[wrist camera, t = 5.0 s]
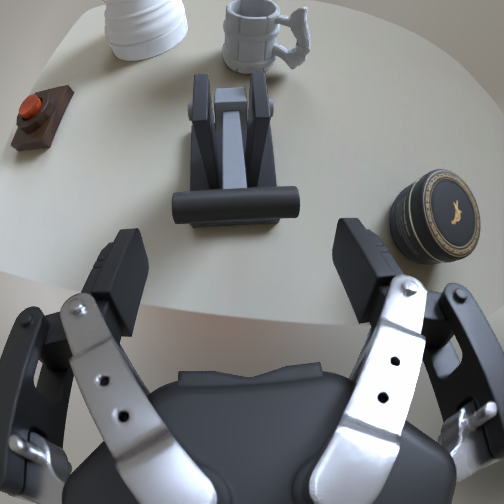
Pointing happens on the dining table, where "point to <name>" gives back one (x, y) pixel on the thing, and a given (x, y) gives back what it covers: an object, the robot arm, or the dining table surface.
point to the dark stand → (210, 143)
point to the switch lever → (234, 176)
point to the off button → (30, 107)
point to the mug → (262, 36)
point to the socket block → (42, 120)
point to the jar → (436, 219)
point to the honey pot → (144, 27)
